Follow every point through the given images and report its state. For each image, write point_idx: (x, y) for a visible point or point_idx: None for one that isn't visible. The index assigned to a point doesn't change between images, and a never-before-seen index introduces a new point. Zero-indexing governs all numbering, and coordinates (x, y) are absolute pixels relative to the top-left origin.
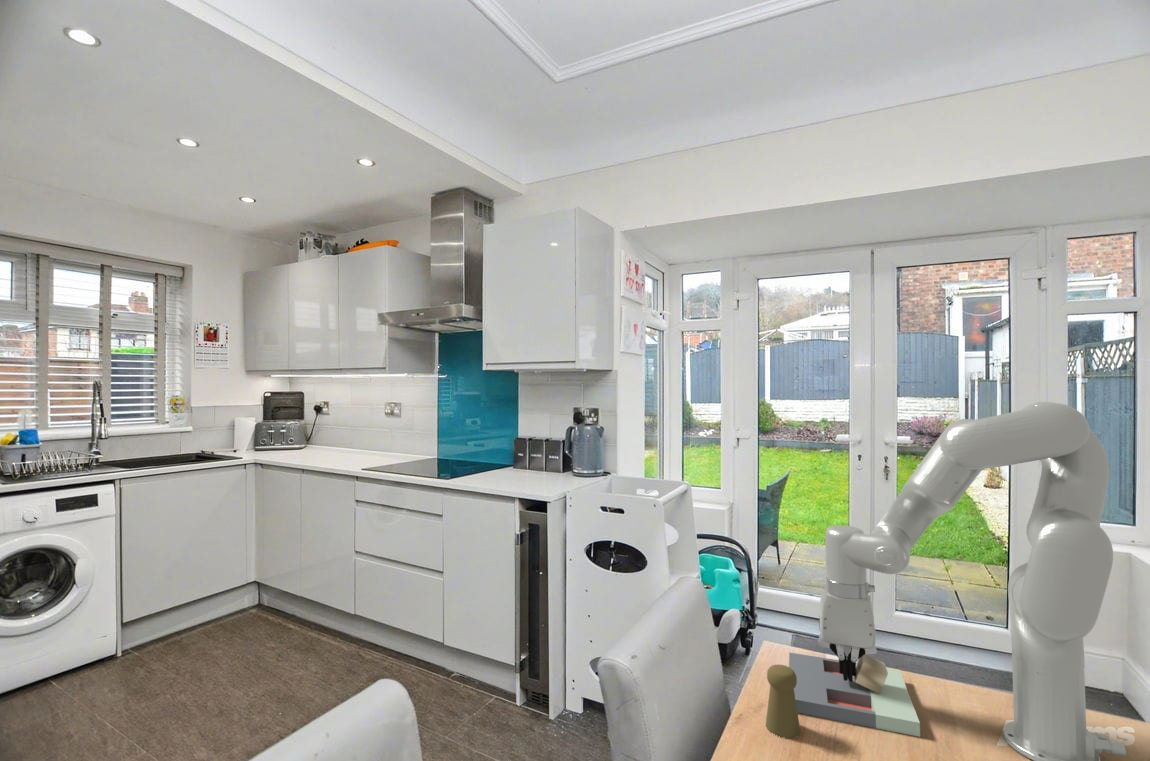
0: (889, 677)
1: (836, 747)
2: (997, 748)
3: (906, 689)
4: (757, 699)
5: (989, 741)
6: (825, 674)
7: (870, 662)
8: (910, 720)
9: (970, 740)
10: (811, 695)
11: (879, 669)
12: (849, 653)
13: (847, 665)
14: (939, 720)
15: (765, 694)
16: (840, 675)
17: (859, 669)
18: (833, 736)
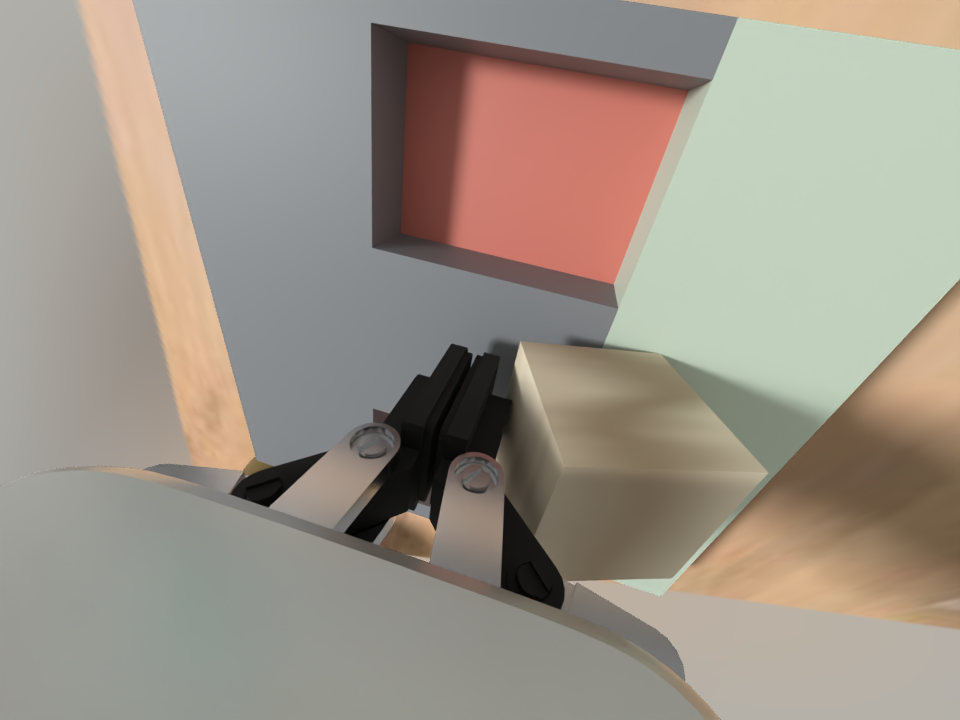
0: (827, 277)
1: (401, 545)
2: (909, 613)
3: (822, 420)
4: (194, 375)
5: (924, 591)
6: (376, 284)
7: (588, 547)
8: (632, 584)
9: (840, 578)
10: (321, 450)
11: (622, 578)
12: (439, 491)
13: (431, 487)
14: (830, 492)
15: (204, 346)
16: (460, 284)
17: (507, 494)
18: (399, 519)
